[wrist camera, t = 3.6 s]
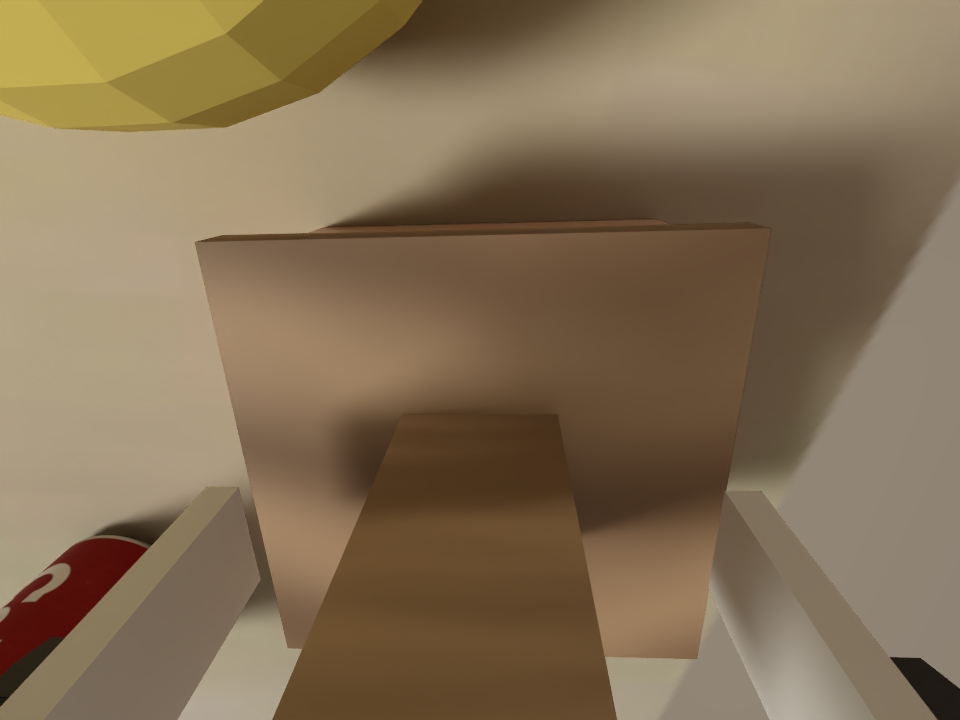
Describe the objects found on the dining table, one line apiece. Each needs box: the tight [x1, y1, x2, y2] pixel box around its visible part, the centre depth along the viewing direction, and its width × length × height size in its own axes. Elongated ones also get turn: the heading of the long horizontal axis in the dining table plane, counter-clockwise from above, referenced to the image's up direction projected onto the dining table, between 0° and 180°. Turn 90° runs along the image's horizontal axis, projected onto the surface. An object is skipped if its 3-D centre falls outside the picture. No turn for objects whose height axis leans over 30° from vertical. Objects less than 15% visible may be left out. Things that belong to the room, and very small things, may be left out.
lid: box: [195, 223, 772, 720], centre depth 11 cm, size 13×13×9 cm
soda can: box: [0, 535, 152, 677], centre depth 20 cm, size 7×7×12 cm
